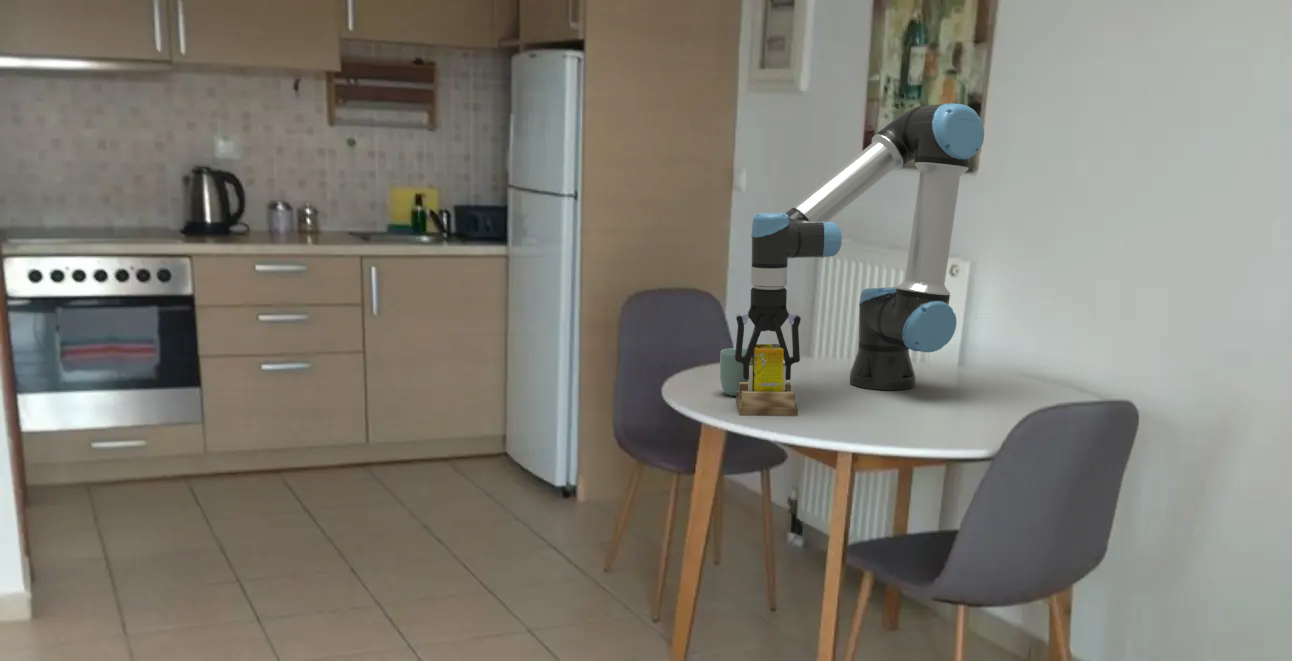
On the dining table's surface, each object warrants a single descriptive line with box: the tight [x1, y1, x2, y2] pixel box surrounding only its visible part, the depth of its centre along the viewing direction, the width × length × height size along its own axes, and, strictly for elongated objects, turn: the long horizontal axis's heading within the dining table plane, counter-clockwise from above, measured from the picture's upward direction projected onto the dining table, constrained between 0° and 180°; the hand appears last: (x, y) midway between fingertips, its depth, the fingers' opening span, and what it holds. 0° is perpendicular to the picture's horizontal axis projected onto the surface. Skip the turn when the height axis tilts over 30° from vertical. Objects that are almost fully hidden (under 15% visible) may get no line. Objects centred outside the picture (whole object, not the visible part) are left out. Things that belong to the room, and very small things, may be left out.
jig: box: [735, 381, 799, 417], centre depth 232 cm, size 12×13×4 cm
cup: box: [719, 347, 751, 397], centre depth 245 cm, size 8×8×10 cm
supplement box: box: [751, 343, 784, 392], centre depth 231 cm, size 6×6×11 cm
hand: (766, 394), depth 232 cm, fingers closed on supplement box, 6 cm apart
